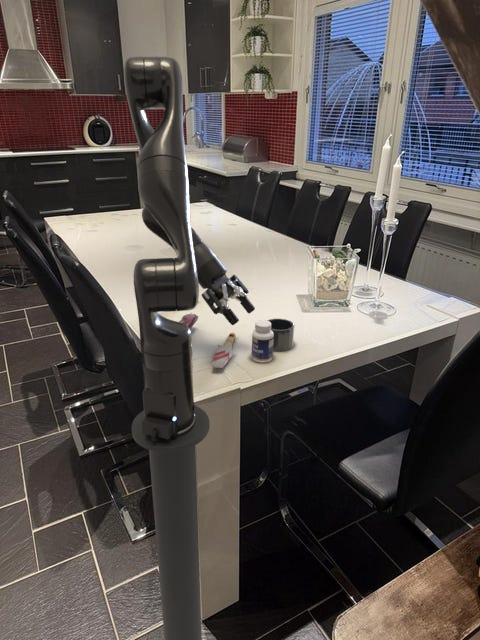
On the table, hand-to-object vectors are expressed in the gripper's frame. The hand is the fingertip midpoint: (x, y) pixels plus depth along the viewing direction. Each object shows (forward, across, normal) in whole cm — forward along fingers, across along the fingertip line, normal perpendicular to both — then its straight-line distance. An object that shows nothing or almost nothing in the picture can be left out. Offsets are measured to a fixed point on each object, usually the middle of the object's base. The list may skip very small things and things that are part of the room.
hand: (244, 317), depth 115 cm
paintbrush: (+5, -1, +12) cm, 12 cm away
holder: (+11, +11, +5) cm, 16 cm away
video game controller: (-7, +5, +23) cm, 25 cm away
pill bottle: (+11, +2, +5) cm, 12 cm away
